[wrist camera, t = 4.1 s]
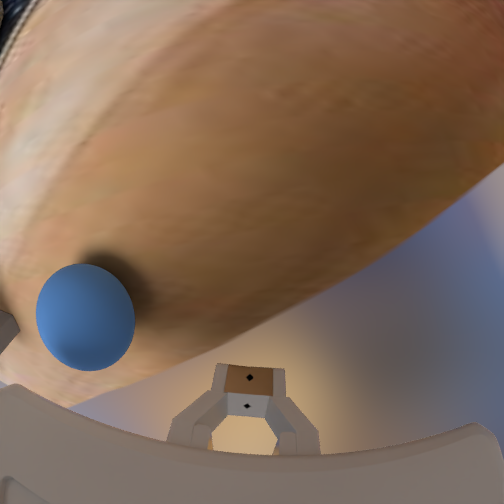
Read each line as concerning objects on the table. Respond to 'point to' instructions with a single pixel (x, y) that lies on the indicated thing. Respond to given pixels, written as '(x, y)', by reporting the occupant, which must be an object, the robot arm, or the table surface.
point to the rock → (1, 12)
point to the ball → (85, 317)
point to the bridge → (7, 329)
